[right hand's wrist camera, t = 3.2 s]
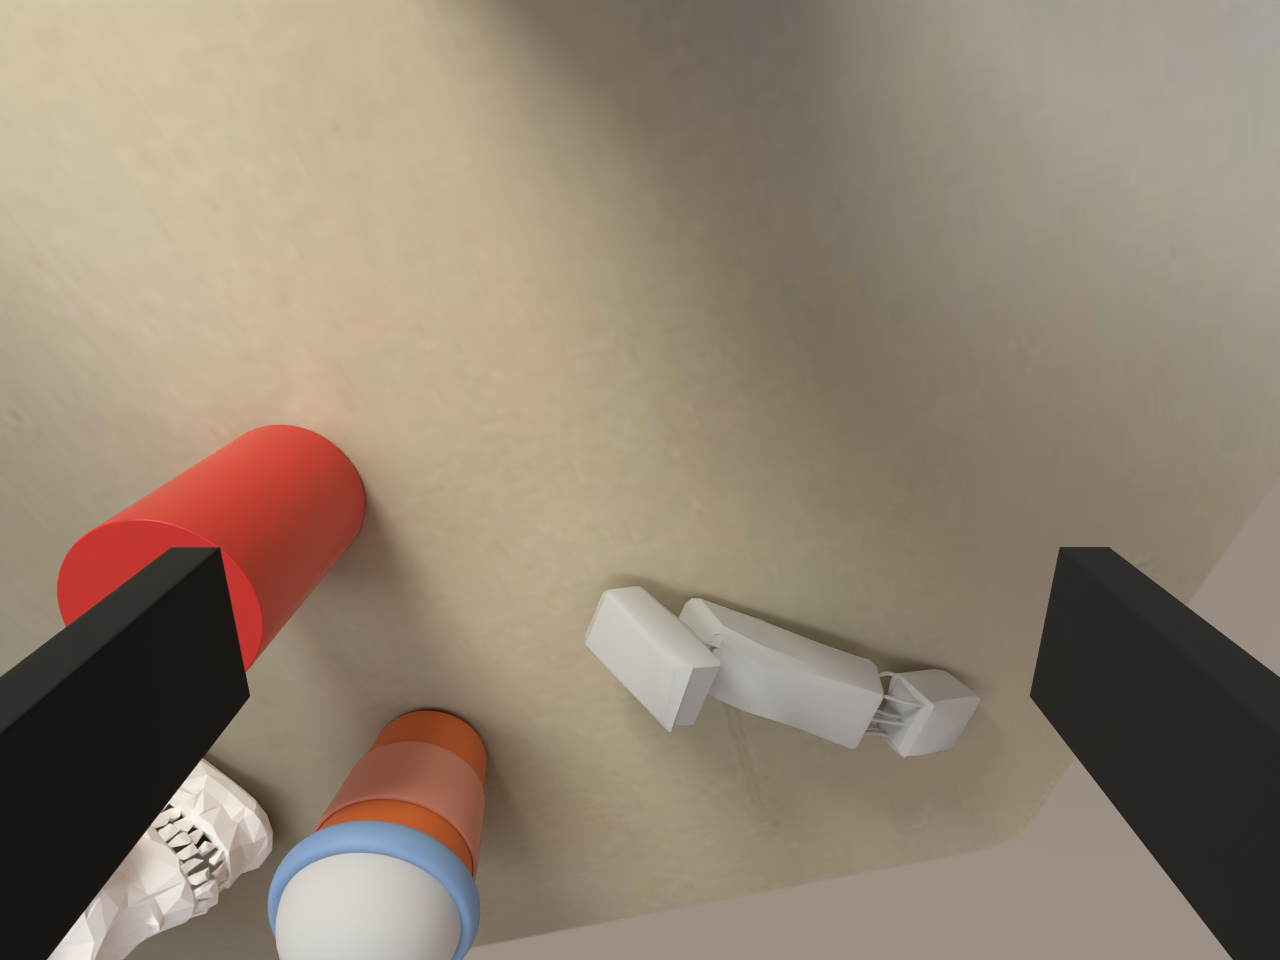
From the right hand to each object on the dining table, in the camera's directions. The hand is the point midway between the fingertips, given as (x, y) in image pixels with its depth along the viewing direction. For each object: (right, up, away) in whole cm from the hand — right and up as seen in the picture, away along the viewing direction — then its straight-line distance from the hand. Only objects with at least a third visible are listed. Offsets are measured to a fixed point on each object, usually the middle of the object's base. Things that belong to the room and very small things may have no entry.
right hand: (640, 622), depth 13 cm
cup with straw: (-12, -13, +32) cm, 36 cm away
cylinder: (-17, +1, +26) cm, 31 cm away
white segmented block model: (+7, -7, +29) cm, 31 cm away
